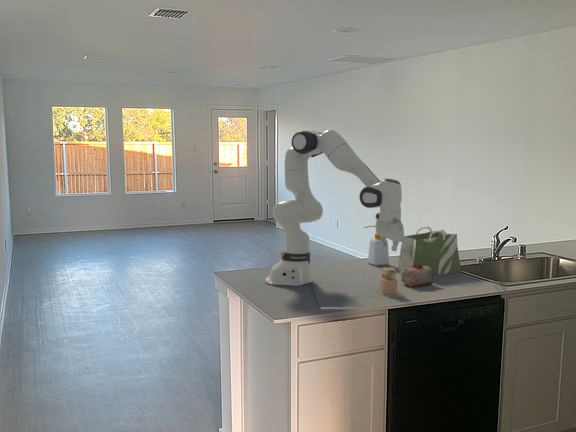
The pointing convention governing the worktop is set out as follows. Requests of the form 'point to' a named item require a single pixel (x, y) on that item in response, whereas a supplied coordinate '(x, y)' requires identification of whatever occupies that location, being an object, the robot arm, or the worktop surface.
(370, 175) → the robot arm
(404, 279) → the food item
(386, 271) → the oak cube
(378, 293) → the baseplate
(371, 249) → the soap bottle
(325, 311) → the worktop surface
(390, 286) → the base block
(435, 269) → the grocery bag
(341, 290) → the worktop surface
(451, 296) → the worktop surface
